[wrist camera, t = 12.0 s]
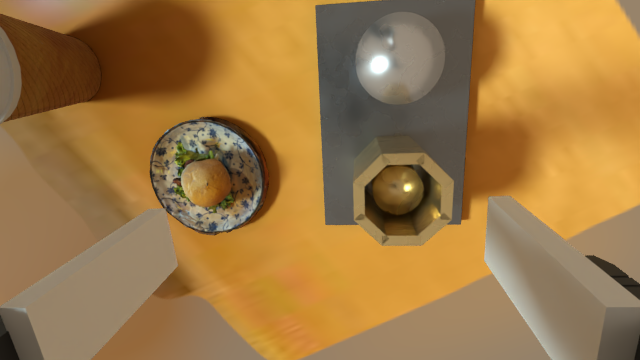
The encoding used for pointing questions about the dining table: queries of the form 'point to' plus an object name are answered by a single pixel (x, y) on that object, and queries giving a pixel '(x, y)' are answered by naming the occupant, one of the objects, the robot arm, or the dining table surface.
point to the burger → (209, 175)
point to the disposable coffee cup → (42, 70)
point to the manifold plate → (387, 118)
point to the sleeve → (421, 219)
